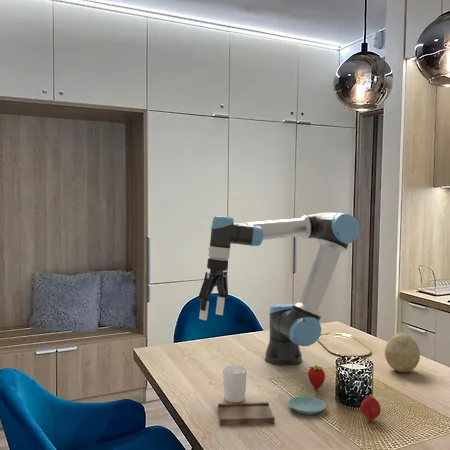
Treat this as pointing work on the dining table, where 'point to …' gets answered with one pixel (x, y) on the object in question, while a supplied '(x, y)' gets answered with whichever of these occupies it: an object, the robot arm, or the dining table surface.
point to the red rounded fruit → (370, 408)
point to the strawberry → (316, 376)
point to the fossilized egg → (402, 352)
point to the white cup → (234, 383)
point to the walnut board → (245, 413)
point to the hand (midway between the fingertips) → (211, 317)
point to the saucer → (307, 404)
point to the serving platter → (347, 336)
